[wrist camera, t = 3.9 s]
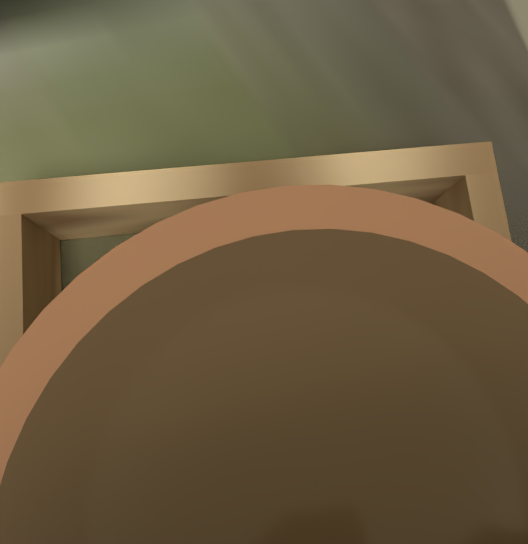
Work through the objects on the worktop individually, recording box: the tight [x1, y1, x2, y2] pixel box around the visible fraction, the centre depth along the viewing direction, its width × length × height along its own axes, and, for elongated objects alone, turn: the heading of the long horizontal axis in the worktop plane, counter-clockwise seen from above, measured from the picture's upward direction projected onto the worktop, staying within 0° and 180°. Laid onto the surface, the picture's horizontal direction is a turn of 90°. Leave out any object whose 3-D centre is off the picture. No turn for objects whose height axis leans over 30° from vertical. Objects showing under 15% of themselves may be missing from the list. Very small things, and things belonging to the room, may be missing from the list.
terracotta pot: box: [0, 185, 528, 544], centre depth 10 cm, size 7×7×12 cm
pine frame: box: [0, 141, 512, 367], centre depth 15 cm, size 15×15×3 cm
